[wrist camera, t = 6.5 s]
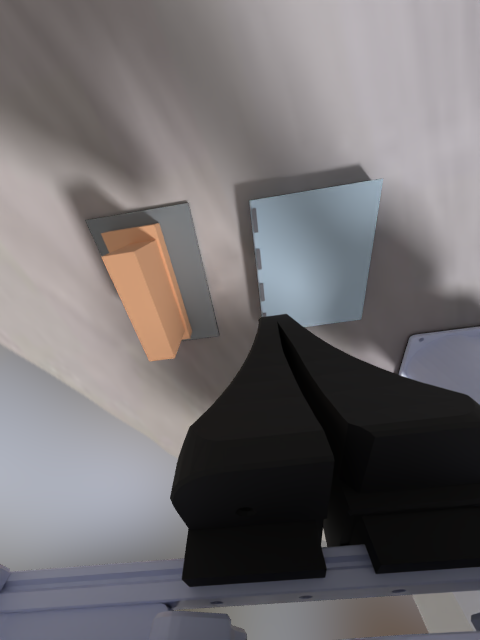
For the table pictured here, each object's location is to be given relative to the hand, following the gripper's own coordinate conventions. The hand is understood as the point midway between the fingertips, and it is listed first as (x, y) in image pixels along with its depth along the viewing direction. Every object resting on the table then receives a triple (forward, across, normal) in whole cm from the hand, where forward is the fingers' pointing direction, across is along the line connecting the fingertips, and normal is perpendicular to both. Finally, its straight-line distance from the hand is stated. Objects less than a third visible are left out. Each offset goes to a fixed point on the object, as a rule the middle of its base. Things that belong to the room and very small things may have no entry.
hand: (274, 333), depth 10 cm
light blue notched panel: (+10, -4, 0) cm, 11 cm away
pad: (+10, +8, 0) cm, 13 cm away
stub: (+10, +9, 0) cm, 13 cm away
